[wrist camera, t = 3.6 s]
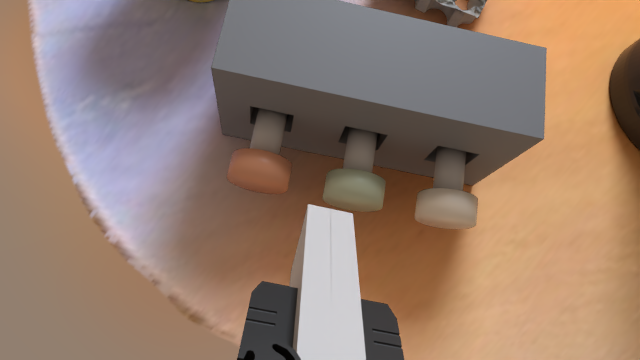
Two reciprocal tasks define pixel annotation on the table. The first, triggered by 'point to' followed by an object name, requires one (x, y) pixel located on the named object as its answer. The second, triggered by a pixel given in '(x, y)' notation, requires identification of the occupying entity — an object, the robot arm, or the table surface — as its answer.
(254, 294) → the robot arm
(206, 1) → the plant pot
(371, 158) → the sage button
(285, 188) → the terracotta button
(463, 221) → the ivory button
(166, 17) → the table surface
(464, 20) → the egg carton
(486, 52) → the control box
